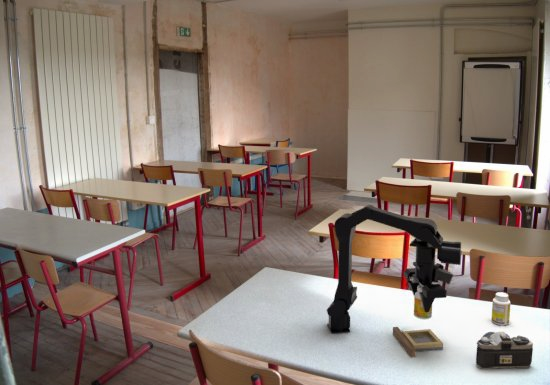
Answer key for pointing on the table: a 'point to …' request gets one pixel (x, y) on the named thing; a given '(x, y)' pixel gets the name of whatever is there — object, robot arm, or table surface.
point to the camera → (503, 351)
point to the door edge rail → (404, 342)
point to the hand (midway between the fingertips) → (422, 308)
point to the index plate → (424, 340)
